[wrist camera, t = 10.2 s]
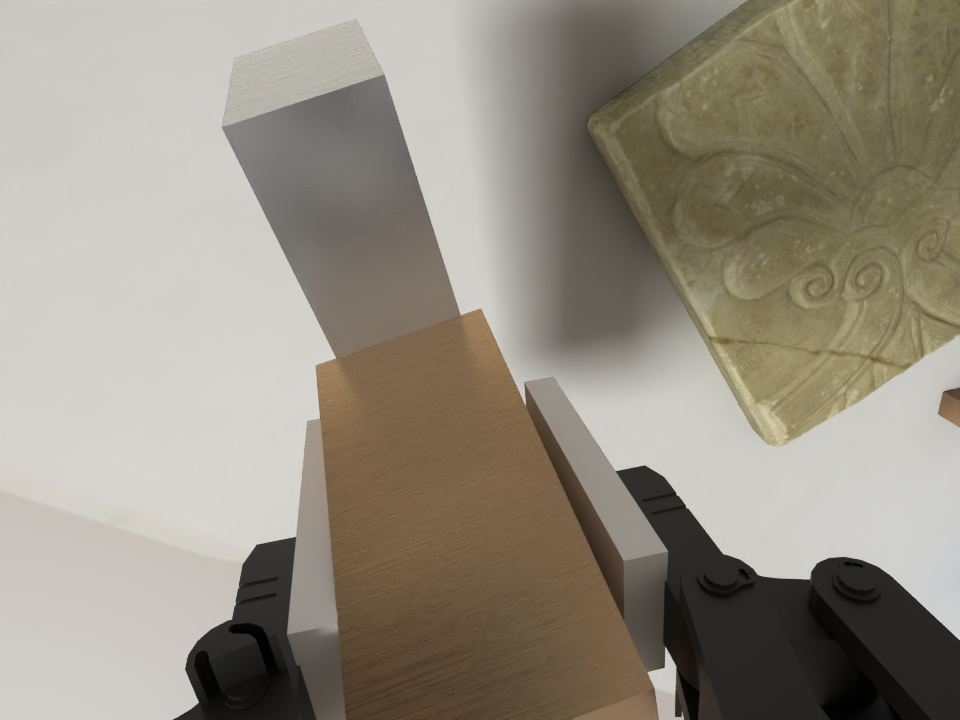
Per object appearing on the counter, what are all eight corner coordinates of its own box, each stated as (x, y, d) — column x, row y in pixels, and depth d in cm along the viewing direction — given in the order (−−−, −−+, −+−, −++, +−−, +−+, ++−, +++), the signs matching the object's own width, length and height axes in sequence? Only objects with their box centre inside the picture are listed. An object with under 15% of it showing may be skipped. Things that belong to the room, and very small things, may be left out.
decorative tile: (746, 429, 37) (783, 465, 34) (573, 122, 28) (602, 131, 25) (1042, 234, 36) (1111, 252, 32) (957, -160, 27) (1040, -188, 23)
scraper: (213, 64, 15) (79, 561, 5) (376, 12, 16) (610, 373, 5) (413, 485, 26) (516, 945, 15) (510, 451, 26) (681, 880, 15)
